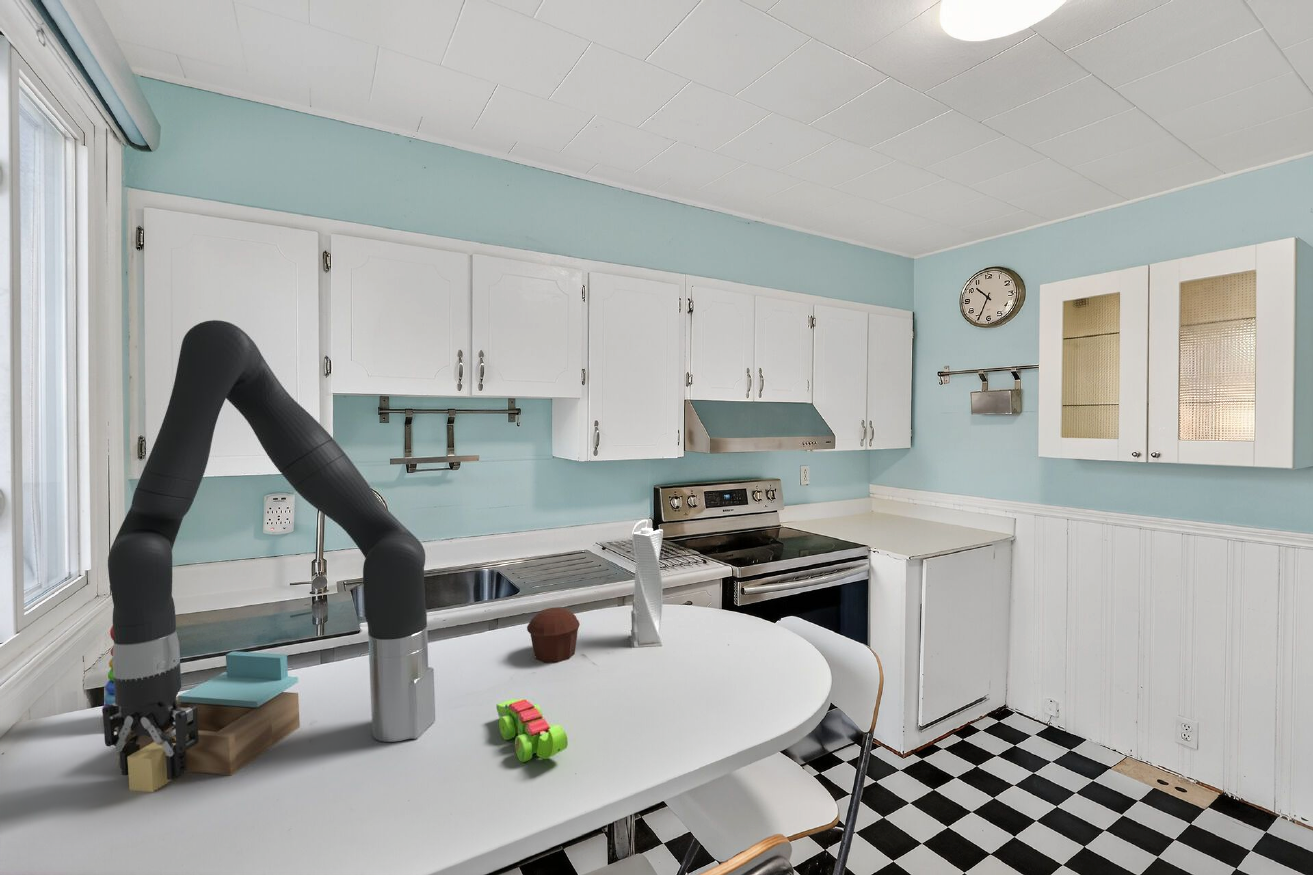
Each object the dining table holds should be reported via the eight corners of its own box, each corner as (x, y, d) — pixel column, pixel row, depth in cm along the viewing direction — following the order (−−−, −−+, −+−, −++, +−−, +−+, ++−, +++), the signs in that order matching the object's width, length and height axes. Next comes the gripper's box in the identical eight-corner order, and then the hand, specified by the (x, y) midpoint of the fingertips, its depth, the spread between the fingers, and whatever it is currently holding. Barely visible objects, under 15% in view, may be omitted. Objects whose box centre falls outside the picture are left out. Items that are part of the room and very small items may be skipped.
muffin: (555, 640, 142) (554, 598, 142) (590, 651, 136) (590, 607, 135) (516, 658, 133) (515, 613, 132) (552, 670, 126) (551, 623, 125)
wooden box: (299, 726, 105) (298, 692, 105) (230, 775, 91) (228, 736, 91) (199, 718, 108) (197, 685, 108) (118, 764, 94) (116, 727, 94)
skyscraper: (629, 635, 146) (627, 519, 144) (662, 633, 146) (660, 518, 145) (631, 649, 137) (629, 526, 136) (666, 646, 138) (665, 525, 137)
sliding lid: (298, 682, 108) (296, 654, 108) (257, 707, 99) (255, 677, 99) (224, 677, 110) (223, 650, 110) (178, 701, 102) (176, 672, 101)
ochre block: (178, 775, 92) (177, 743, 91) (153, 792, 88) (150, 758, 87) (156, 773, 92) (154, 741, 92) (129, 789, 88) (127, 756, 88)
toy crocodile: (489, 723, 106) (488, 688, 105) (526, 711, 109) (525, 678, 109) (533, 780, 89) (532, 740, 89) (574, 764, 93) (573, 726, 93)
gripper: (212, 657, 92) (217, 763, 92) (132, 652, 94) (138, 756, 95) (164, 680, 84) (171, 795, 85) (78, 673, 86) (85, 785, 87)
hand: (153, 774), depth 90 cm, fingers open, 7 cm apart
